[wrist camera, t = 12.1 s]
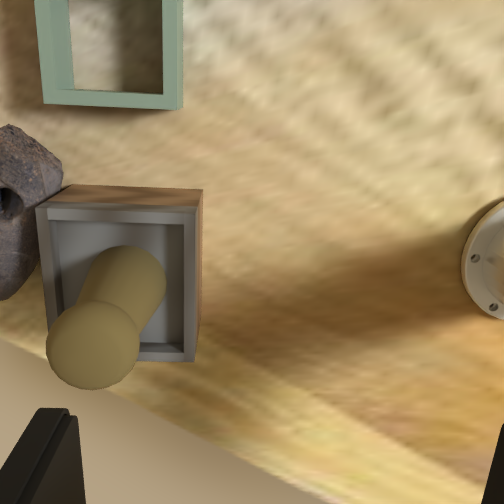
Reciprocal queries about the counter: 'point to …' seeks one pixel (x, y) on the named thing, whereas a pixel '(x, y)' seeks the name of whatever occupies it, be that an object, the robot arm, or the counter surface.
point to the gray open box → (131, 234)
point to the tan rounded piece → (107, 319)
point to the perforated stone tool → (22, 203)
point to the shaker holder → (62, 90)
